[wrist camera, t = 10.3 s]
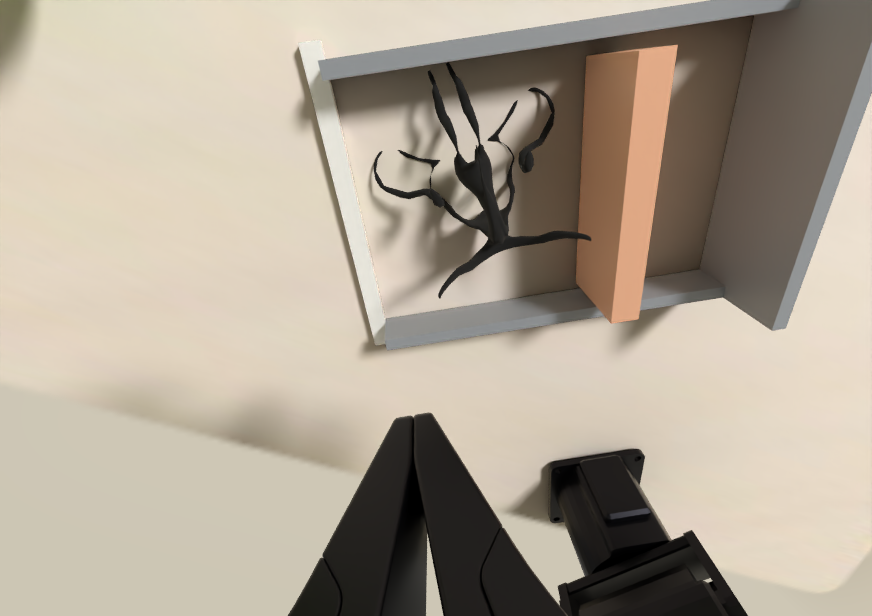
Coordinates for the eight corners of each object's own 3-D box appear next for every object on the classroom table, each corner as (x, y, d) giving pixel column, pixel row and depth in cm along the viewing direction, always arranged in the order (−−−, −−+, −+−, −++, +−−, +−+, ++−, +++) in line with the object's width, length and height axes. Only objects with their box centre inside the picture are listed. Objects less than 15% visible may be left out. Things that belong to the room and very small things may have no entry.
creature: (352, 114, 18) (421, 281, 20) (318, 89, 12) (417, 318, 15) (526, 38, 17) (577, 222, 19) (566, -24, 12) (630, 239, 14)
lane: (705, 289, 22) (780, 341, 18) (375, 341, 22) (370, 406, 18) (779, -30, 15) (931, -71, 11) (300, 43, 15) (261, 31, 11)
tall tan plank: (598, 278, 21) (638, 319, 17) (575, 282, 21) (611, 323, 17) (616, 51, 16) (677, 44, 12) (586, 55, 16) (639, 50, 12)
